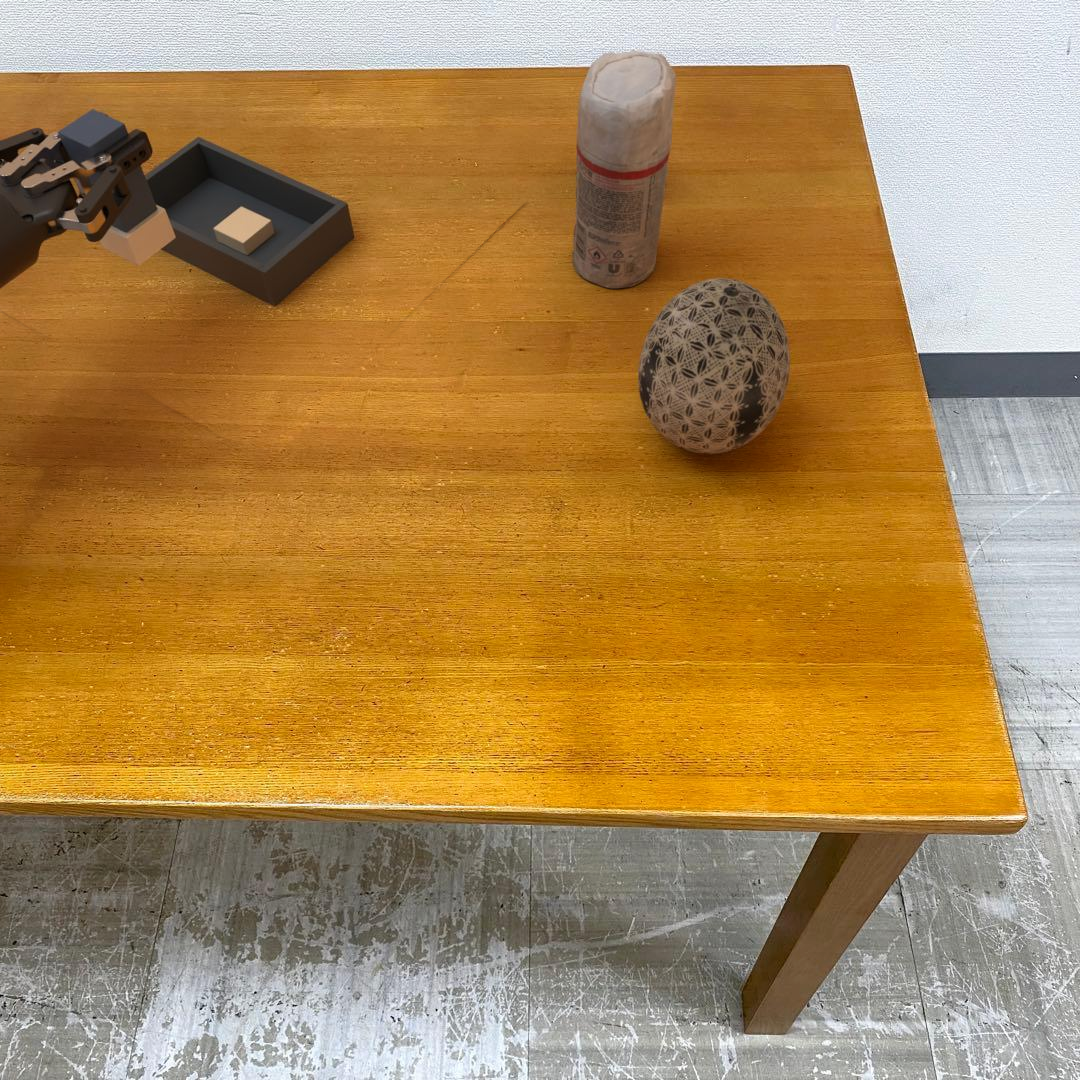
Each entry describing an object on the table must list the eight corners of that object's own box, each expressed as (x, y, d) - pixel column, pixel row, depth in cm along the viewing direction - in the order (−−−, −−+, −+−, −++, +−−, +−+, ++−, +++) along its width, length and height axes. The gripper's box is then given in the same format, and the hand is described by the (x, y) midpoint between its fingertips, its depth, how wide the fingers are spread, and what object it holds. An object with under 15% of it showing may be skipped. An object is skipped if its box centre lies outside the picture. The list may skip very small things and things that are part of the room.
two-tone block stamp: (102, 248, 87) (49, 132, 77) (140, 219, 89) (92, 104, 80) (138, 266, 85) (88, 151, 76) (176, 237, 87) (132, 122, 78)
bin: (129, 236, 101) (112, 198, 97) (211, 175, 106) (198, 136, 103) (276, 311, 95) (264, 272, 91) (355, 242, 100) (347, 202, 96)
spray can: (677, 269, 97) (701, 72, 81) (609, 305, 95) (619, 109, 78) (622, 223, 101) (635, 26, 84) (555, 256, 98) (555, 59, 82)
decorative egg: (611, 400, 88) (619, 264, 75) (732, 364, 90) (760, 225, 78) (669, 502, 82) (688, 371, 69) (797, 459, 84) (839, 326, 71)
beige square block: (217, 241, 100) (212, 228, 98) (245, 219, 101) (241, 205, 100) (247, 256, 98) (243, 242, 97) (275, 233, 100) (271, 219, 99)
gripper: (-10, 246, 67) (176, 116, 75) (-141, 174, 72) (48, 60, 80) (38, 329, 74) (205, 201, 82) (-86, 258, 78) (84, 144, 86)
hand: (126, 132), depth 81 cm, fingers closed on two-tone block stamp, 3 cm apart
